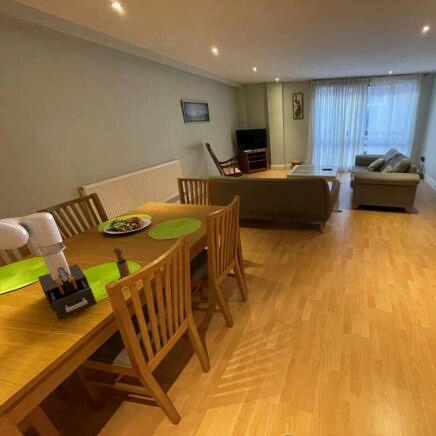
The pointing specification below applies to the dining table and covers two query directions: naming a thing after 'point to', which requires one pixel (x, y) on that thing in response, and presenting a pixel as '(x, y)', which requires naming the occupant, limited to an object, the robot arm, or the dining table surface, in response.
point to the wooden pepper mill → (121, 263)
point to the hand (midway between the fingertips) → (68, 288)
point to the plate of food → (127, 225)
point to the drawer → (72, 300)
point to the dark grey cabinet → (51, 284)
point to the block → (60, 283)
